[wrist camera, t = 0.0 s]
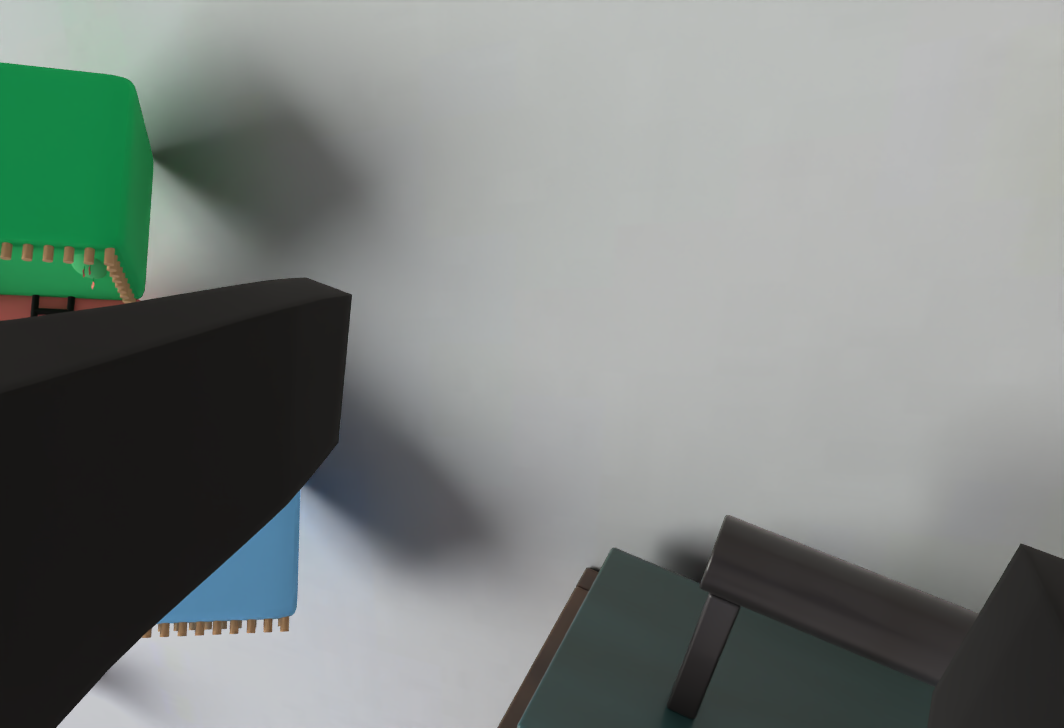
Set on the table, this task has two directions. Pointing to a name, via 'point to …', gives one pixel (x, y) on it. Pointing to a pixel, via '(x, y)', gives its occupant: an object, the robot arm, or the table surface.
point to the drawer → (749, 644)
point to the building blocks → (109, 277)
